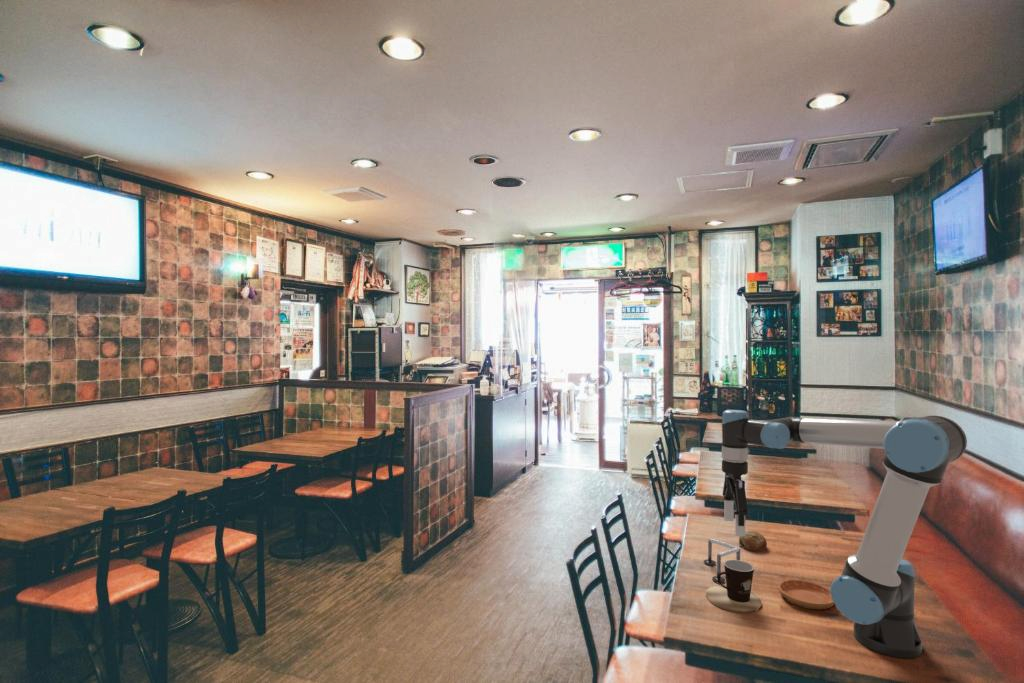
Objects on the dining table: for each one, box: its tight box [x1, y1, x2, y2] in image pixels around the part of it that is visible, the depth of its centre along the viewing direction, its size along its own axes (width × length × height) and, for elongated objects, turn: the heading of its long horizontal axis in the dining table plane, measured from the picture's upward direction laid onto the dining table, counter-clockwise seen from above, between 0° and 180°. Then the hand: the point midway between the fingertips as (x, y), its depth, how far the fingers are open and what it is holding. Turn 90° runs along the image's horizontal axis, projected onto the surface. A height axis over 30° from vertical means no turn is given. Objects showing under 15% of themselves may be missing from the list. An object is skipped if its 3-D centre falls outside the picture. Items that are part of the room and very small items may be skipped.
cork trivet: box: [705, 584, 762, 614], centre depth 168 cm, size 16×16×1 cm
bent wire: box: [703, 537, 741, 584], centre depth 187 cm, size 18×12×9 cm, turn 171°
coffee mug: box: [717, 559, 755, 602], centre depth 168 cm, size 12×9×10 cm
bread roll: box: [738, 530, 768, 552], centre depth 211 cm, size 10×10×8 cm
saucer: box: [778, 579, 835, 611], centre depth 168 cm, size 16×16×3 cm
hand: (734, 528), depth 168 cm, fingers open, 13 cm apart
